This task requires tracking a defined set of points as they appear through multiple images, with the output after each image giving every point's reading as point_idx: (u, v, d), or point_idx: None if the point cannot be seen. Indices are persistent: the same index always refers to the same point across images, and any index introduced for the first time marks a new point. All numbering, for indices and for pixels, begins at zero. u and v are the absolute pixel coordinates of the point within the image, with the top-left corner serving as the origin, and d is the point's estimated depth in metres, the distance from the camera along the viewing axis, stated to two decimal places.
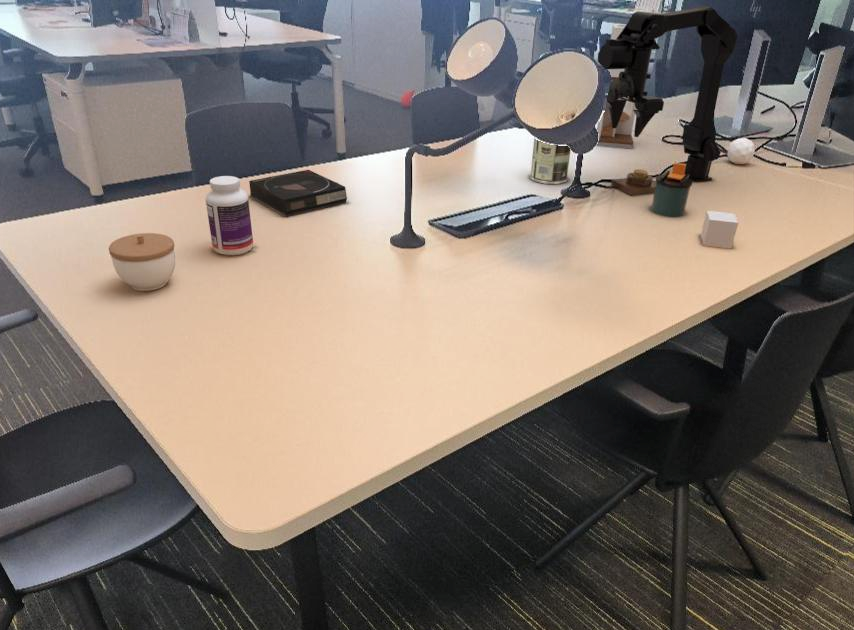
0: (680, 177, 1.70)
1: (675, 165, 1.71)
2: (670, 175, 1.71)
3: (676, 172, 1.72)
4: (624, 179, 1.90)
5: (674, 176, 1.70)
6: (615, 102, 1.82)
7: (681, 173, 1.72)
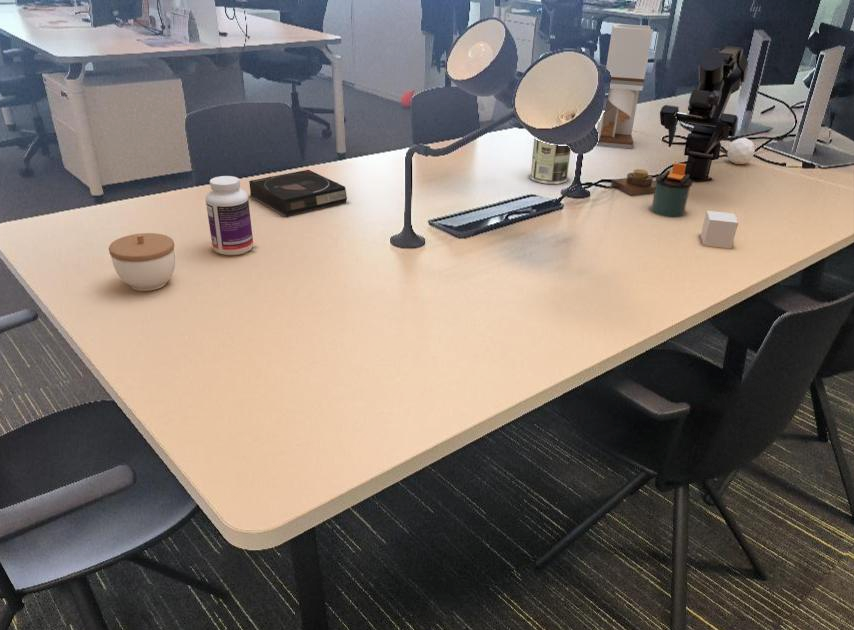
0: (680, 177, 1.70)
1: (675, 165, 1.71)
2: (670, 175, 1.71)
3: (676, 172, 1.72)
4: (624, 179, 1.90)
5: (674, 176, 1.70)
6: (675, 122, 1.79)
7: (681, 173, 1.72)
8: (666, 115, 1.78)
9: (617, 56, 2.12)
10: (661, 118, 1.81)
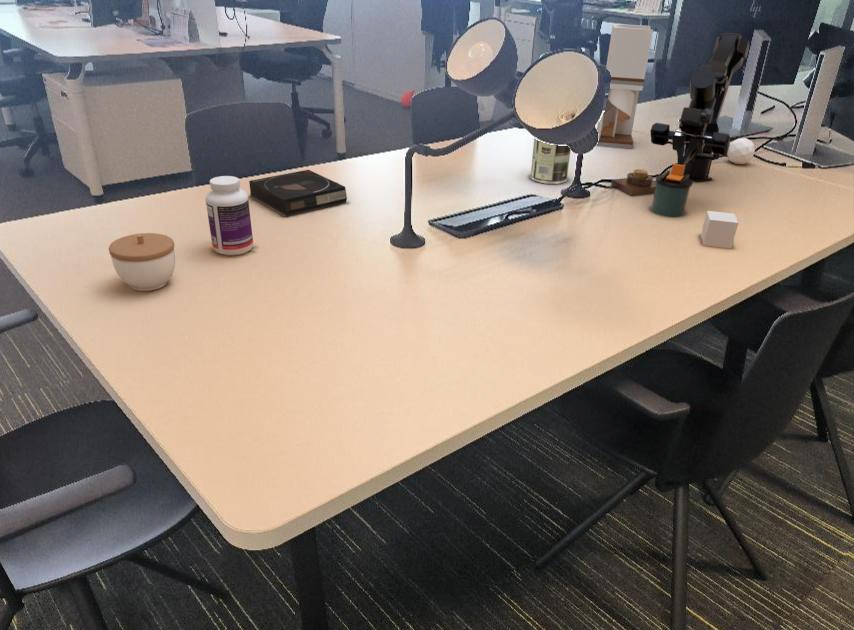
0: (679, 178, 1.69)
1: (674, 166, 1.71)
2: (669, 176, 1.70)
3: (675, 173, 1.71)
4: (624, 179, 1.90)
5: (673, 177, 1.69)
6: (684, 143, 1.72)
7: (680, 174, 1.71)
8: (675, 136, 1.71)
9: (617, 56, 2.12)
10: (652, 136, 1.76)
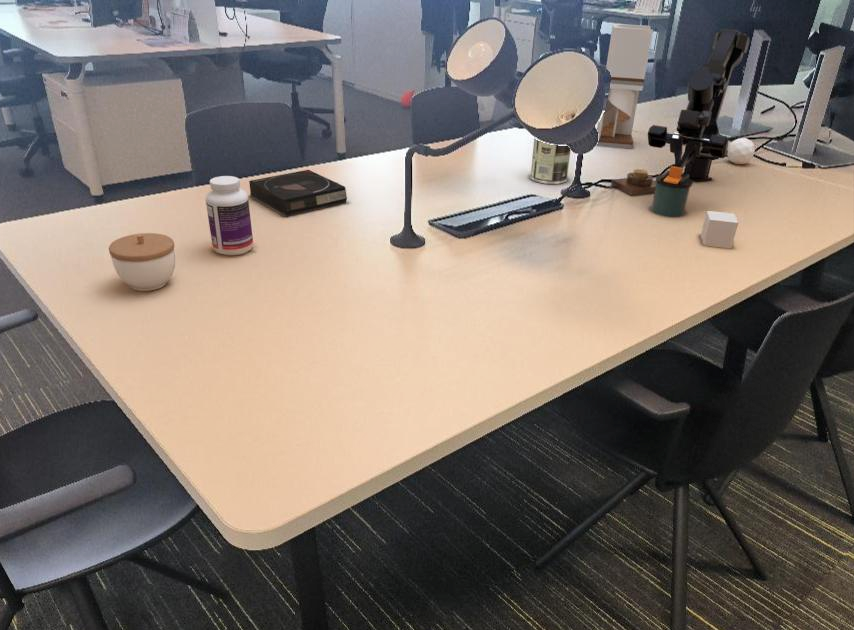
0: (677, 181, 1.67)
1: (671, 169, 1.69)
2: (666, 179, 1.68)
3: (673, 176, 1.69)
4: (624, 179, 1.90)
5: (670, 180, 1.67)
6: (681, 146, 1.70)
7: (678, 177, 1.69)
8: (672, 138, 1.69)
9: (617, 56, 2.12)
10: (649, 138, 1.74)
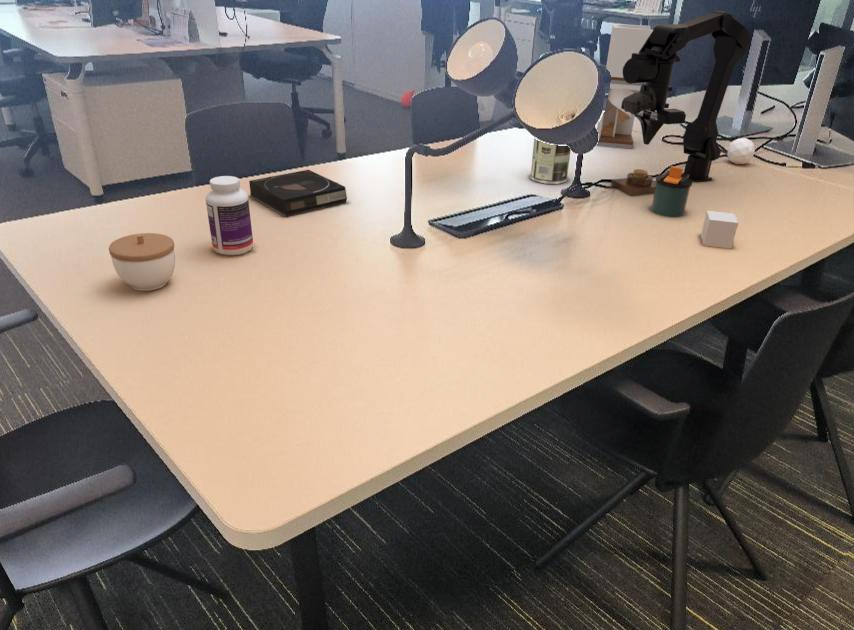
0: (677, 181, 1.67)
1: (671, 169, 1.69)
2: (666, 179, 1.68)
3: (673, 176, 1.69)
4: (624, 179, 1.90)
5: (670, 180, 1.67)
6: (647, 118, 1.80)
7: (678, 177, 1.69)
8: (635, 115, 1.81)
9: (617, 56, 2.12)
10: None
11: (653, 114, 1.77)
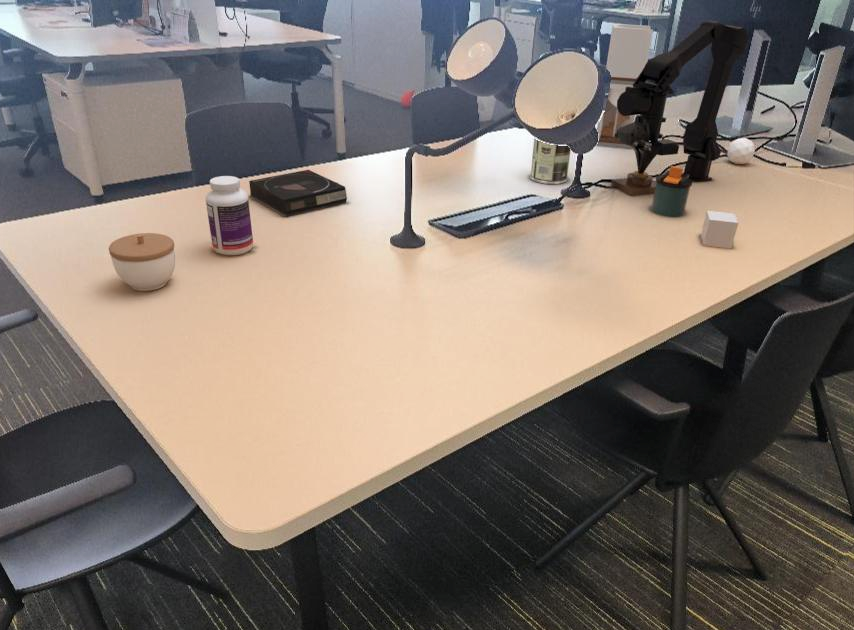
0: (677, 181, 1.67)
1: (671, 169, 1.69)
2: (666, 179, 1.68)
3: (673, 176, 1.69)
4: (624, 179, 1.90)
5: (670, 180, 1.67)
6: (641, 148, 1.84)
7: (678, 177, 1.69)
8: (629, 145, 1.84)
9: (617, 56, 2.12)
10: None
11: (647, 144, 1.81)
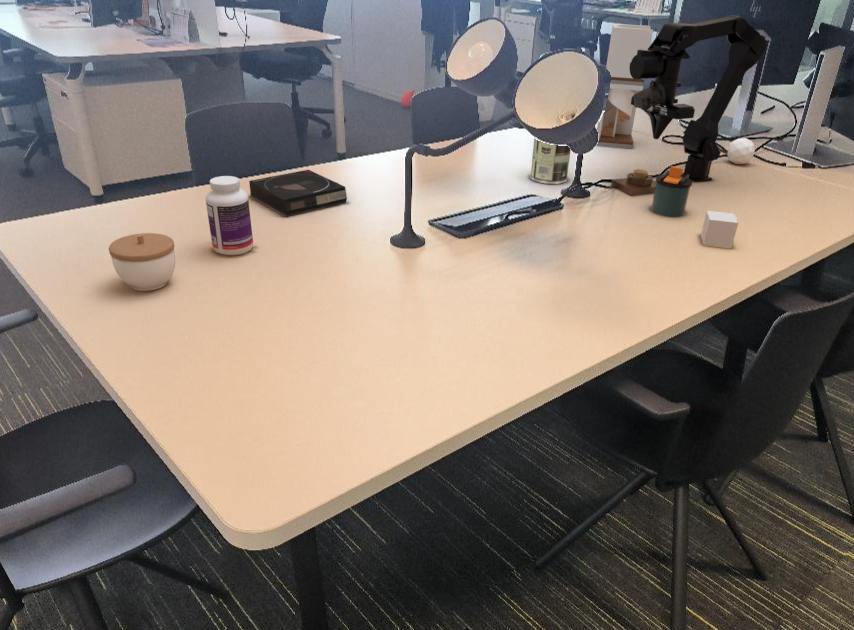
0: (677, 181, 1.67)
1: (671, 169, 1.69)
2: (666, 179, 1.68)
3: (673, 176, 1.69)
4: (624, 179, 1.90)
5: (670, 180, 1.67)
6: None
7: (678, 177, 1.69)
8: (644, 111, 1.85)
9: (617, 56, 2.12)
10: None
11: (662, 109, 1.82)
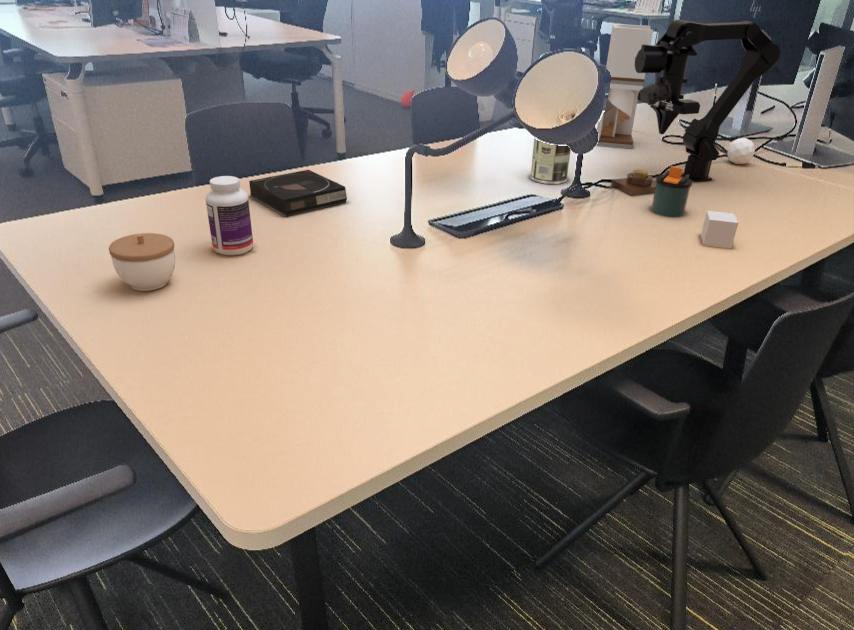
0: (677, 181, 1.67)
1: (671, 169, 1.69)
2: (666, 179, 1.68)
3: (673, 176, 1.69)
4: (624, 179, 1.90)
5: (670, 180, 1.67)
6: (662, 109, 1.88)
7: (678, 177, 1.69)
8: (650, 106, 1.89)
9: (617, 56, 2.12)
10: None
11: (668, 105, 1.85)
